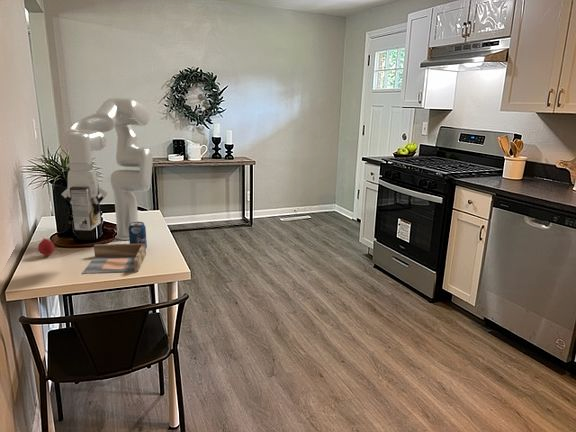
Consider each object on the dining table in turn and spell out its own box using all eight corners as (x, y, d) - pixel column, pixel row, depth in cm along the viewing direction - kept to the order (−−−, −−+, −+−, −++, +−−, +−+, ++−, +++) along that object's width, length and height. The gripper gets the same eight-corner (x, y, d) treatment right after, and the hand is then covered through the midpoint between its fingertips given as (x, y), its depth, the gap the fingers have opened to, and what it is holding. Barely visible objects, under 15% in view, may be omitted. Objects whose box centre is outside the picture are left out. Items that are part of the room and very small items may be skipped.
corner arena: (95, 255, 175) (94, 244, 174) (145, 254, 178) (145, 243, 177) (82, 273, 158) (81, 261, 157) (138, 271, 161) (137, 259, 160)
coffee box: (85, 222, 166) (80, 182, 161) (101, 223, 166) (97, 182, 161) (73, 230, 157) (68, 187, 152) (91, 230, 157) (86, 188, 152)
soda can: (141, 253, 180) (139, 226, 176) (126, 251, 181) (124, 225, 178) (150, 248, 186) (148, 221, 183) (135, 246, 187) (133, 220, 184)
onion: (51, 252, 177) (49, 234, 175) (58, 256, 174) (55, 237, 172) (36, 256, 173) (34, 237, 171) (42, 260, 170) (40, 241, 167)
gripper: (52, 168, 150) (58, 216, 155) (103, 169, 152) (108, 216, 158) (60, 164, 157) (66, 210, 163) (109, 165, 159) (113, 210, 165)
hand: (86, 213), depth 160 cm, fingers closed on coffee box, 6 cm apart
